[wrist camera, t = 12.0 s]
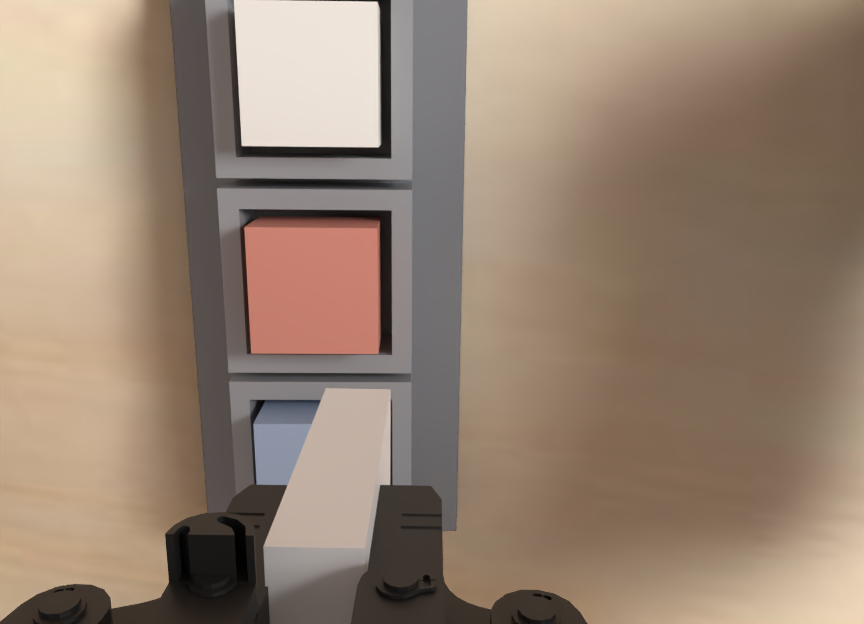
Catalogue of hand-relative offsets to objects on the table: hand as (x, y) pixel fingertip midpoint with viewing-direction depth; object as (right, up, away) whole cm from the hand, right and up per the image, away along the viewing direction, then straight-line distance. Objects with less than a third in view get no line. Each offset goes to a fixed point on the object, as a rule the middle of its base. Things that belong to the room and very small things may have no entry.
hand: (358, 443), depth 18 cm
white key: (-3, +12, +12) cm, 18 cm away
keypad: (-3, +5, +17) cm, 18 cm away
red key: (-3, +5, +14) cm, 15 cm away
